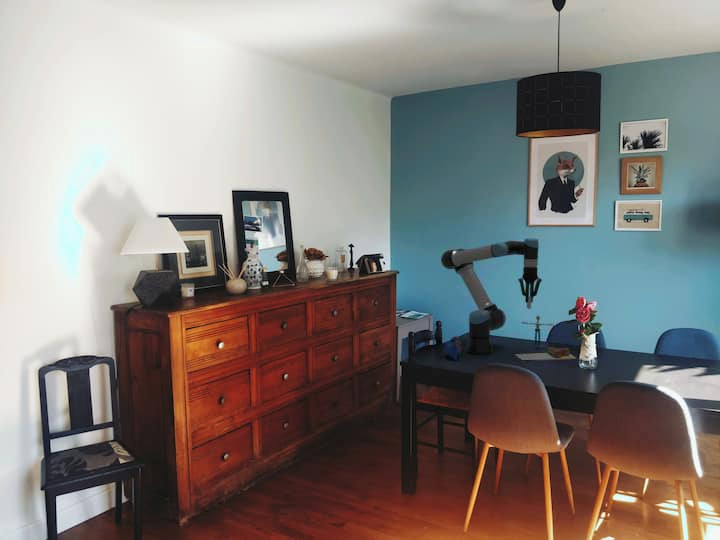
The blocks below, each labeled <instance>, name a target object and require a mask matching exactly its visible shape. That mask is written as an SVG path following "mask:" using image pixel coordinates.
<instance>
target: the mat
mask: <svg viewBox="0 0 720 540" xmlns="http://www.w3.org/2000/svg"><path fill="white" fill-rule="evenodd" d="M515 355H516V356H517V357H518V359H519V358H520V359H521V360H537V361H555V360H556V361H557V360H559V361H561V360H577V357H575V356H574V355H573V354H571V353H570V355H569V356H561V358H554V357H552V356H551V355H549V354H548V352H543V353H542V352H541V353H540V352H539V353H536V352H535V353H516V354H514V356H515ZM516 356H515V357H516ZM517 357H516V358H517ZM520 359H519V360H520ZM521 360H520V361H521Z"/></svg>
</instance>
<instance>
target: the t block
mask: <svg viewBox="0 0 720 540" xmlns="http://www.w3.org/2000/svg"><path fill="white" fill-rule="evenodd" d="M570 351H571V350H570V349H569V348H566V347H564V348H563V347H562V348H561V347H560V348H556V347H554V346H551V347H550V346H548V347H547V353H548V354H549V355H551V356H552V357H554V358H561V356H569V355H570V354H571V352H570Z"/></svg>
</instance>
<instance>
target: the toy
mask: <svg viewBox="0 0 720 540" xmlns="http://www.w3.org/2000/svg"><path fill="white" fill-rule="evenodd" d="M462 344H463V343H462V342H461V341H460V340H459V337H458V336H452V338H451V339H449V340H447V341H445V343H444V348H443V349H444V353H445V355H446V356H447V355H449V356H448V357H450V358H452V359H453V360H454V359H456V360H457V358H458V357H459V356H460V355H461V352H462V351H463V348H462V347H461V346H462ZM458 355H459V356H458Z"/></svg>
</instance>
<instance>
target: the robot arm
mask: <svg viewBox="0 0 720 540" xmlns="http://www.w3.org/2000/svg"><path fill="white" fill-rule="evenodd" d="M539 247H540V246H539V239H537V238H535V237H533V238H525V239H524V240H523V241H519V240H506V241H505V242H497V243H494V244H488V245H483V246H479V247H474V248H473V247H472V248H469V249H468V248H467V249H466V248H457V249H448V250H446V251H444V252H443V253H442V255H441V258H440V262H441V264H442V266H443V267H444V268H445V269H448V270H454V271H455V273H456V275H458V276H460V277H461V279H462V280H463V283H464V285H465V286H466V289H467V290H468V292H469V294H470V296H471V298H472V299H473V301H474V304H475V306H476V307H477V308H478V309H475V310H473V311H471V312H470V313H469V315H468V316H469V317H468V335H469V336H468V341H467V345H466V347H465V350H466V351H467V353H468V352H470V353H469V354H471V353H474V354H473V355H478V354H484V355H490V354H493V353H494V347H493V345H492V342H491V337H490V336H491V332H492V331H496V330H499V329H500V328H503V327H504V325H505V323H506V320H507V318H506V314H505V312H504V311H503V310H502V309H500V308H498V307H497V304H496V303H494V302H492V301H491V299H490V297H489V295H488V294H487V292H486V290H485V288H484V285H483V284H482V282H481V280H480V278H479V277H478V275H477V273H476V271H475V269H474V267H475V264H474V262H479V261H485V260H489V259H495V258H500V257H501V258H502V257H506V256H513V255H517V256H518V255H520V256H523V266H522V267H523V268H522V270H523V271H522V272H523V273H522V277H520V278H518V279H517V281H518V282H519V285H520V291H521V295H522V296H524V297H525V300H524V301H525V303H526V308H527V309H529V310H531V309H532V303H533V302H534V298H535V297H536V296H537V295H538V292H539V288H540V285H541V283H542V281H543V279H542V278H540V277H539V275H538V265H539V264H538V262H539ZM524 283H525V284H524ZM466 351H465V352H466ZM489 353H490V354H489Z"/></svg>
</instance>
